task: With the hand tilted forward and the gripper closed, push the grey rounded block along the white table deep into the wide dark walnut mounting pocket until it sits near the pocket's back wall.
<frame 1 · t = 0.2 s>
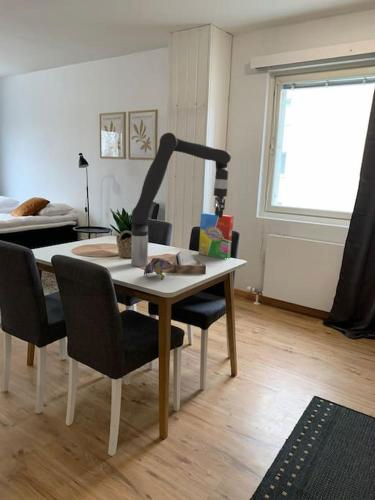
hand: (218, 216, 211), 29 cm above the table, tool pointing down, fingers open, 8 cm apart
grey rounded block: (184, 266, 214), on the table
game box: (214, 256, 241), on the table
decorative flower: (156, 278, 188), on the table
hinge pocket: (189, 271, 201), on the table
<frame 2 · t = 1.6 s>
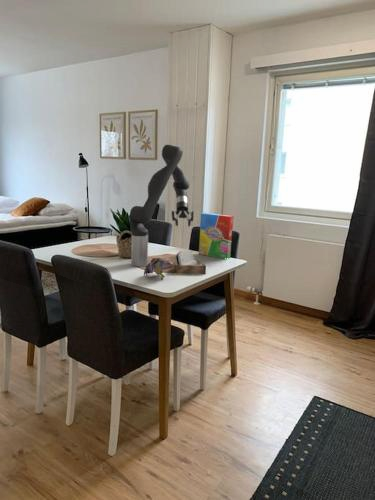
hand: (183, 225, 227), 20 cm above the table, tool tilted 45°, fingers open, 6 cm apart
nothing on the table moved.
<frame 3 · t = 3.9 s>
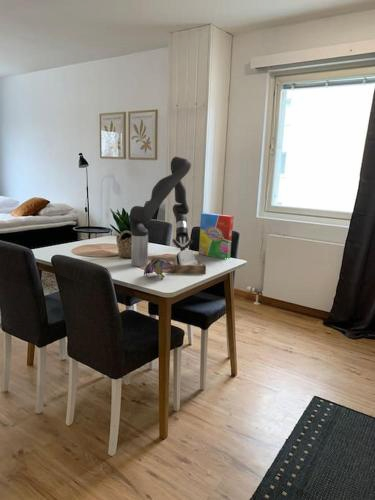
hand: (182, 253, 225), 4 cm above the table, tool tilted 45°, fingers closed
nothing on the table moved.
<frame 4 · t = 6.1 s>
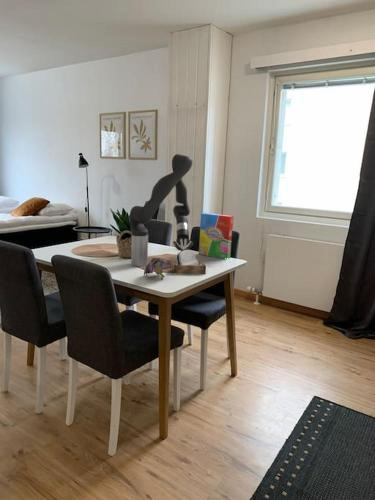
hand: (183, 255, 219), 4 cm above the table, tool tilted 45°, fingers closed
grey rounded block: (186, 265, 215), on the table, touching gripper
everything else where it was.
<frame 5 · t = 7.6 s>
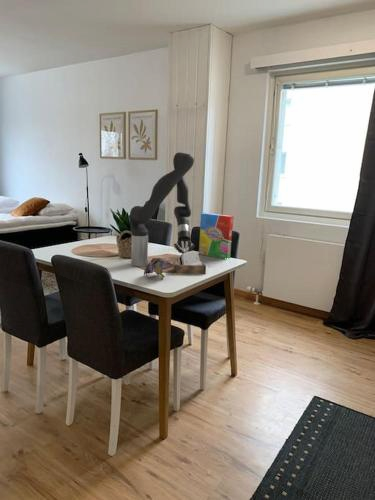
hand: (185, 258, 213), 4 cm above the table, tool tilted 45°, fingers closed
grey rounded block: (189, 267, 211), on the table, touching gripper
everything else where it was.
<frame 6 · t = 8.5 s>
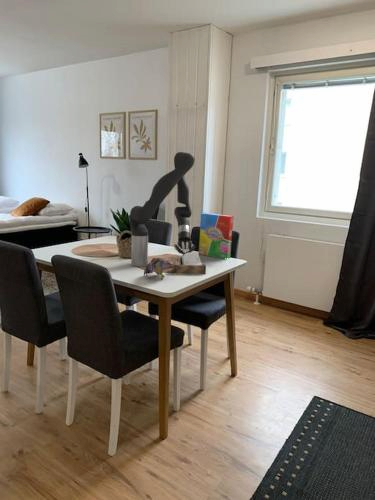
hand: (185, 259, 211), 4 cm above the table, tool tilted 45°, fingers closed
grey rounded block: (190, 268, 208), on the table, touching gripper
everything else where it was.
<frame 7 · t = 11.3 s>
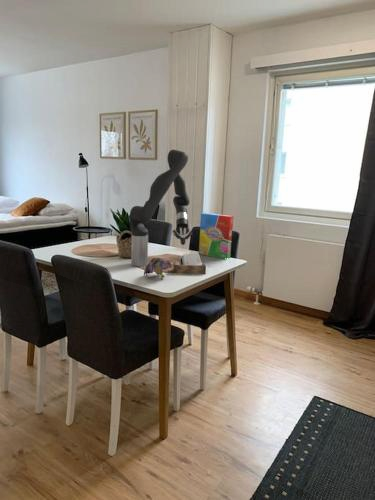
hand: (183, 244, 223), 10 cm above the table, tool tilted 45°, fingers closed
grey rounded block: (190, 269, 208), on the table
everything else where it was.
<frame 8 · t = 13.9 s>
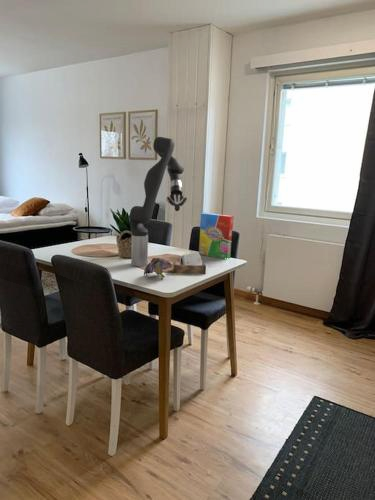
hand: (177, 210, 223), 30 cm above the table, tool tilted 45°, fingers closed
nothing on the table moved.
at the end: grey rounded block inside the target area on the table beside the hinge pocket (2.0 cm from its centre), on the table; grey rounded block tilted 0°; grey rounded block moved 7.3 cm from its start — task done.
